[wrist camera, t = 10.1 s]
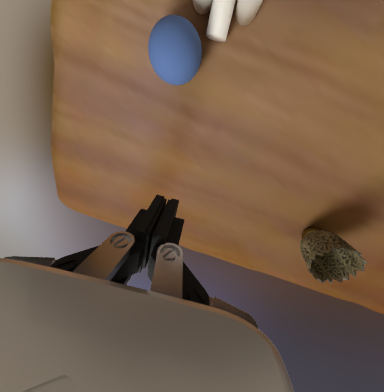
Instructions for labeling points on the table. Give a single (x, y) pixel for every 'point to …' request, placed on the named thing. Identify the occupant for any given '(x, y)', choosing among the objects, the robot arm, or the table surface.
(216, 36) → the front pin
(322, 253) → the cup
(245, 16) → the pin
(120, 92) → the table surface
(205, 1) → the pin
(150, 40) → the ball
